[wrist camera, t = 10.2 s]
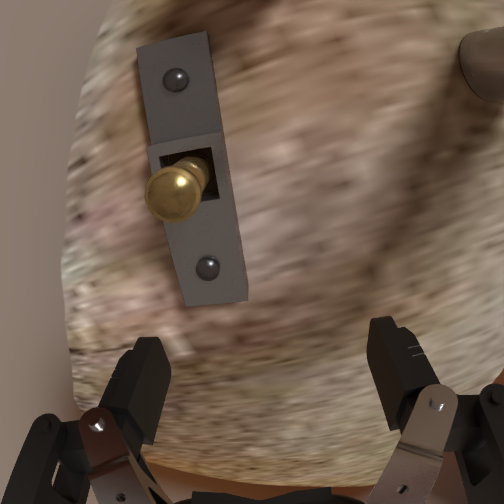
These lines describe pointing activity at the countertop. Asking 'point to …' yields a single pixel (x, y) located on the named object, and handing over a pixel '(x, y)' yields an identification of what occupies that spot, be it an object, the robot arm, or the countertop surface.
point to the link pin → (178, 188)
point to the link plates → (190, 138)
